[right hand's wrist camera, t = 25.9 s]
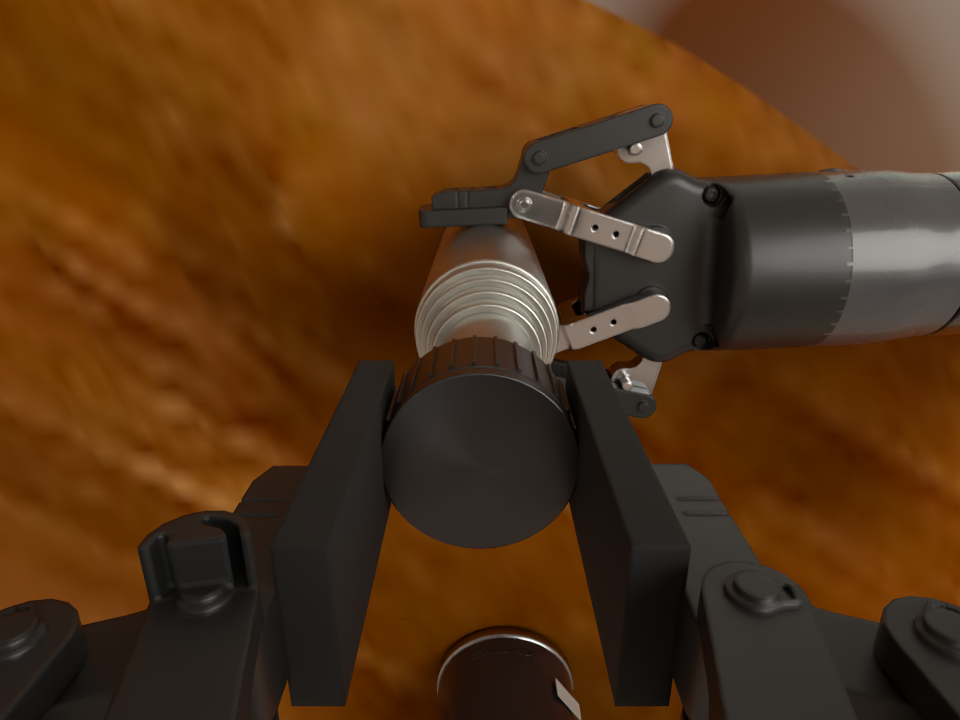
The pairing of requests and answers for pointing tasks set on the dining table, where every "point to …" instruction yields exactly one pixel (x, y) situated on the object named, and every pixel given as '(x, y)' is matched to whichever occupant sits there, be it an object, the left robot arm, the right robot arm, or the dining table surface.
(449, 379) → the cap
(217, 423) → the dining table surface
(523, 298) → the bottle
